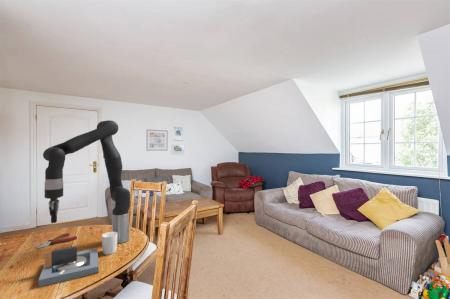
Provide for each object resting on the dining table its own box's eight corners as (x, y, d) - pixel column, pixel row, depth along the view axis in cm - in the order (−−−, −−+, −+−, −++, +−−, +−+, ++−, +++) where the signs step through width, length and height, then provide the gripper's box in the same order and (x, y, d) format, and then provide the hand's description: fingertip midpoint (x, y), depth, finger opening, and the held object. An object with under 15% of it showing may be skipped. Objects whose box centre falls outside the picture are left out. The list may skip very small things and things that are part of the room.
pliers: (30, 247, 133) (30, 243, 133) (68, 236, 150) (68, 232, 150) (40, 252, 127) (40, 247, 127) (77, 239, 145) (77, 235, 145)
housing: (97, 253, 125) (97, 248, 125) (98, 272, 106) (98, 266, 106) (46, 263, 114) (47, 257, 114) (38, 287, 95) (38, 279, 95)
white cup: (120, 250, 130) (120, 232, 130) (109, 256, 122) (109, 237, 122) (109, 248, 132) (109, 231, 132) (98, 254, 125) (98, 235, 125)
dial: (86, 258, 118) (86, 240, 118) (86, 269, 108) (86, 249, 108) (47, 266, 110) (47, 247, 110) (42, 279, 100) (43, 257, 100)
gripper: (61, 189, 109) (61, 225, 110) (64, 185, 121) (64, 217, 121) (42, 190, 106) (42, 227, 106) (46, 186, 117) (46, 219, 117)
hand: (54, 222), depth 113 cm, fingers closed
